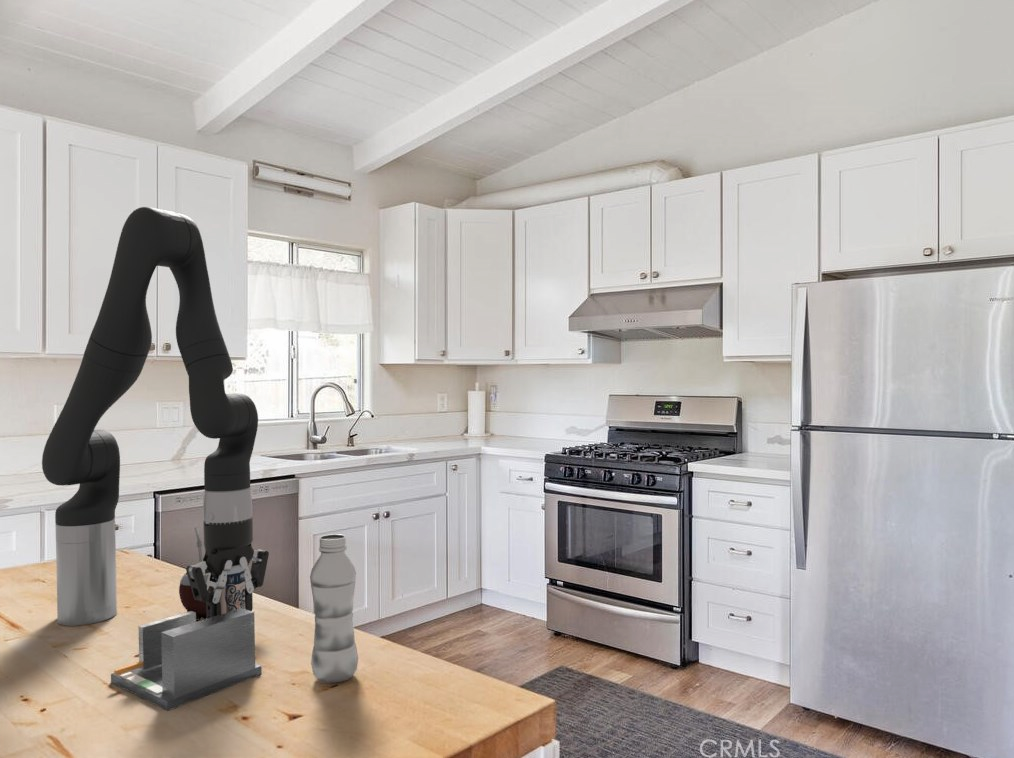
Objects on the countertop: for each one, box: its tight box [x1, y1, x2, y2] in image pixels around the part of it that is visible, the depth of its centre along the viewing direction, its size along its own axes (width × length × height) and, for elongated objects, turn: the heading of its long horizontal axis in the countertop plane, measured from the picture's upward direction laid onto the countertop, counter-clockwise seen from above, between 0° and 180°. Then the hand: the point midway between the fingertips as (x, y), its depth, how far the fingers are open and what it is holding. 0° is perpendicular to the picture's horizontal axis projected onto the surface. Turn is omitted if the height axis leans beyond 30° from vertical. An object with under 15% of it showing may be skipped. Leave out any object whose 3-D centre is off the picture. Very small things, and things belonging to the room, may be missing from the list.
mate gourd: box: [178, 526, 209, 621], centre depth 133 cm, size 8×8×15 cm
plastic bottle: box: [309, 533, 359, 684], centre depth 105 cm, size 6×7×20 cm
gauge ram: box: [113, 611, 197, 675], centre depth 107 cm, size 2×12×6 cm, turn 143°
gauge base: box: [110, 608, 263, 712], centre depth 106 cm, size 15×14×9 cm
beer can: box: [214, 565, 245, 614], centre depth 122 cm, size 5×5×12 cm
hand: (230, 619), depth 122 cm, fingers closed on beer can, 4 cm apart
